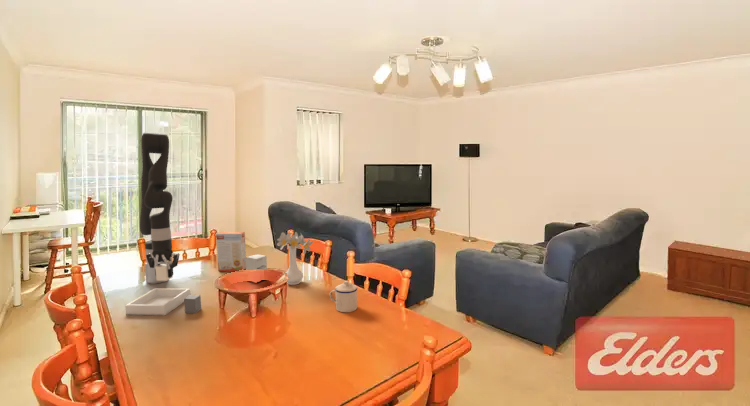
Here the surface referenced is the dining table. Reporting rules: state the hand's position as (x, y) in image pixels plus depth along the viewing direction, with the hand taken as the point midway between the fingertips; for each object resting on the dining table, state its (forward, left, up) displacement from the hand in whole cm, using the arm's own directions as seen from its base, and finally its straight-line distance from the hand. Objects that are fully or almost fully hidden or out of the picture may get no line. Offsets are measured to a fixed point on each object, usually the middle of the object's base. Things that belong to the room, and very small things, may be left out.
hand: (164, 276), depth 173 cm
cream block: (0, 0, -1) cm, 1 cm away
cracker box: (+10, +48, -11) cm, 50 cm away
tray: (0, -4, -11) cm, 12 cm away
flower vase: (+50, +27, -11) cm, 58 cm away
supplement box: (+30, +30, -11) cm, 43 cm away
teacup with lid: (+78, -4, -11) cm, 79 cm away
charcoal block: (+17, -9, -11) cm, 22 cm away
